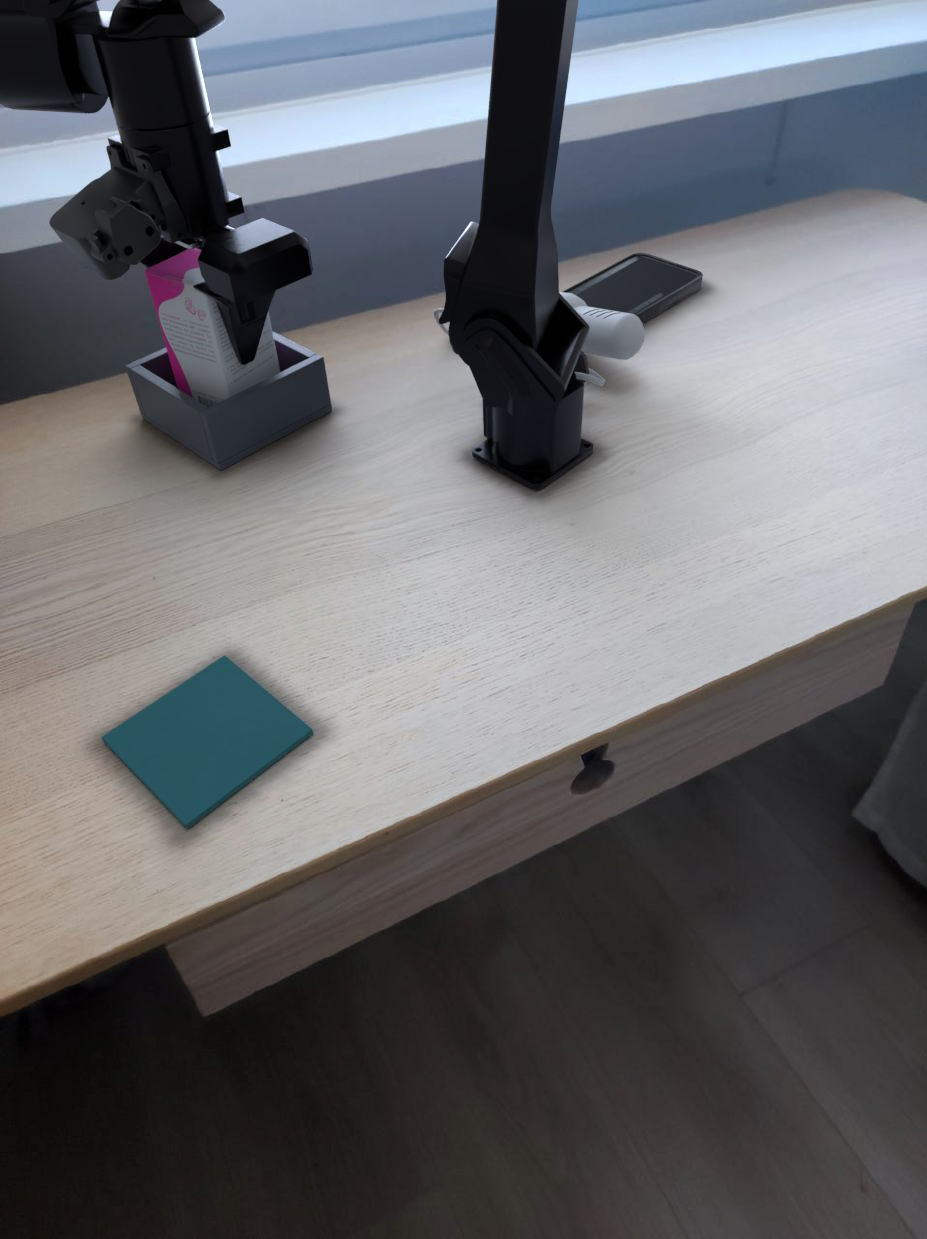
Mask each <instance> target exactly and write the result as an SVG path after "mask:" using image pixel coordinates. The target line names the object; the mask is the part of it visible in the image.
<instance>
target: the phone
mask: <svg viewBox="0 0 927 1239" xmlns="http://www.w3.org/2000/svg"><path fill="white" fill-rule="evenodd" d="M703 276H704V274H703V272H702V271H700V270H698V269H696V268H695V269H694V268H692V267H688V266H687V265H683V264H681V263H678V262H674V261H671V260H668V259H665V258H662V257H659V256H656V255H653V254H650V253H646V252H635V253H631V254H630V255H628V256H626V257H625V258H622V259H621V260H618V261H617V262H615V263H613V264H612V265H610V266H607V267H606V268H604V269H602V270H600V271H598V272H597V273H595V274H593V275H590V276H589V277H588V278H584V280H581V281H579V282H577V283H576V284H573V285H572V286H570V287H568V288H567V289H564V290H562V292H564V293H571V294H574V295H576V296H578V297H579V298H581V299H582V300H583V301H584V302H585V303H586V305H587V306H588V307H594V308H600V309H606V310H612V311H618V312H624V313H630V314H634V315H636V316H637V317H638V318H639V319H640V320H641V322H642V324H644V323H645V322H647V321H649V320H651V319H652V318H655V317H656V316H657V315H659V314H661V313H662V312H664V311H666V310H667V309H669V308H671V307H673V306H674V305H677V303H679V302H681V301H682V300H684V299H686V298H687V297H689V296H692V294H695V293H696V292H698V291H699V290H701V289H702V288H701V287H702V282H703Z"/></svg>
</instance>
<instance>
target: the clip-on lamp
mask: <svg viewBox="0 0 927 1239" xmlns="http://www.w3.org/2000/svg"><path fill="white" fill-rule="evenodd" d="M559 293H560V294H561V295H562V296H563V297H564V298H565V300H566V301H567V302H568V303H569V304H570V305H571V306H572V307H573V308H574V309H575V310H576V312H577V313H578V314H579V315H580V316H581V317H582V318H583V319H584V320H585V321H586V322H587V324H588V325H589V327H590V329H589V332H588V335H587V337H586V340H585V342H584V345H583V347H582V350H581V352H580V355H579V357H578V360H577V362H576V365H575V367H574V372H575V374H576V378H577V380H579V381H581V382H583V383H584V384H585V382H589V383H591V384H594V385H595V386H598V387H603V386H604V385H605V383H606V379H605V378H604V377H603V376H601V375H600V374H599V373H598V372H597V371H596V370H593V369H592V368H591V367H589V363H588V358H587V356H586V354H587V355H591V356H598V357H602V358H603V357H604V358H609V359H615V360H621V361H622V360H624V361H625V360H629V359H631V358H633V357H635V356H636V355H637V354H638V353H639V351H640V350H642V347H643V344H644V343H645V342H644V341H645V334H646V332H645V331H646V330H645V327H644V323H642V322H641V320H640V319H639V318H638V317H637V316H636V315H634V314H630V313H624V312H618V311H612V310H606V309H600V308H594V307H588V306H587V305H586V303H585V302H584V301H583V300H582V299H581V298H579V297H578V296H576V295H574V294H571V293H564V292H563V291H559ZM443 311H444V307H442V308H441V307H440V308H439V307H438V308H436V309H434V311H433V317H434V319H435V321H436V323H437V325H438V326H439V327H440V329H441V330H442V331H443V332H444V333H445V334H446V335H448V336H449V332H448V330H449V329H448V328H447V327H446V326H445V325H444V324H440V323H439V318H440V317H439V315H440V314H442V312H443Z"/></svg>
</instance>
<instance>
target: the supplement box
mask: <svg viewBox="0 0 927 1239" xmlns="http://www.w3.org/2000/svg"><path fill="white" fill-rule="evenodd" d="M200 252H201V250H200V249H197V248H195V249H187V250H185V251H183V252H181V253H179V254H177V255H175V256H173V257H171V258H169V259H167V260H165V261H163V262H161V263H159V264H156V265H154V266H152V267H150V268H148V269H147V268H146V269H144V275H145V277H146V281H147V285H148V289H149V292H150V296H151V298H152V303H153V306H154V309H155V312H156V317H157V320H158V322H159V327H160V331H161V334H162V338H163V341H164V345H165V348H166V349H167V352H168V356H169V359H170V363H171V366H172V370H173V373H174V377H175V380H176V384H177V387H178V389H179V390H181V391H182V392H184V393H186V394H187V395H189V396H190V397H192V398H194V399H195V400H197V401H199V402H200V403H202V404H203V405H205V406H207V407H208V408H209V407H211V406H213V405H215V404H217V403H219V402H221V401H223V400H225V399H227V398H229V397H231V396H233V395H235V394H237V393H239V392H241V391H244V390H246V389H248V388H250V387H252V386H254V385H256V384H258V383H260V382H262V381H264V380H266V379H268V378H270V377H272V376H274V375H276V374H278V373H280V367H279V362H278V357H277V353H276V347H275V342H274V337H273V332H274V331H273V328H272V322H271V317H270V312H269V310H268V314H267V317H266V320H265V324H264V327H263V331H262V335H261V338H260V342H259V345H258V349H257V352H256V356H255V359H254V360H253V361H252V362H250V363H248V364H246V365H242V364H240V363H239V361H238V359H237V357H236V354H235V352H234V350H233V347H232V345H231V342H230V339H229V336H228V334H227V331H226V328H225V325H224V322H223V320H222V317H221V314H220V311H219V309H218V306H217V303H216V302H215V301H214V300H213V299H211V298H209V297H208V296H206V295H204V294H202V293H201V292H199V291H197V290H195V289H194V288H193V286H194V285H196V284H199V283H201V282H203V281H205V280H204V279H203V277H202V276H201V272H200V268H199V264H198V260H197V259H198V257H199V255H200ZM272 331H273V332H272Z"/></svg>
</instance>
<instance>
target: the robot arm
mask: <svg viewBox="0 0 927 1239" xmlns="http://www.w3.org/2000/svg"><path fill="white" fill-rule="evenodd" d="M99 1H100V0H0V105H2V106H3V107H4V108H7V109H11V110H18V111H20V110H21V111H33V112H34V111H37V112H52V113H53V112H54V113H69V114H70V113H73V114H96V113H98V112H100V110H102V109H103V108H104V106H105V105H106V103H107V101H108V99H109V102H110V106H111V109H112V113H113V116H114V120H115V123H116V127H117V132H118V134H116V135H112V136H110V137H107V142H108V145H106V147H105V148H106V150H105V151H106V154H107V156H108V161H109V165H110V169H109V170H107V171H105V173H104V174H102V175H101V176H99V177H98V178H95V179H94V180H92V181H90V182H89V183H88V184H86V185H85V186H84V187H83V188H81V190H80V191H78V192H77V193H76V194H75V195H73V197H72V198H70V199H69V200H68V201H67V202H66V203H65V204H63V205H62V206H61V207H60V208H59V209H57V210H56V212H54V213H53V215H51V217H50V219H49V222H48V223H49V227H50V228H51V229H52V230H53V231H54V232H55V233H56V235H57V237H58V238H59V239H60V241H61V242H62V243H63V244H64V246H65V247H66V249H68V251H69V253H71V255H72V256H73V257H74V259H75V260H76V261H77V262H78V264H79V265H80V266H81V267H82V268H84V269H88V270H90V271H92V272H94V273H96V274H97V275H98V276H100V277H101V278H103V279H104V280H107V281H112V280H113V281H114V280H116V279H119V278H120V277H123V275H125V274H126V273H127V272H128V271H129V270H130V268H131V266H133V265H134V266H136V265H138V264H142V265H143V266H144V267H145V268H146V269H148V268H150V267H152V266H154V265H156V264H159V263H161V262H163V261H165V260H167V259H169V258H171V257H173V256H175V255H177V254H179V253H181V252H183V251H185V250H187V249H195V248H197V249H200V250H201V252H200V255H199V257H198V259H197V260H198V264H199V268H200V272H201V276H202V277H203V279H204V280H205V281H203V282H201V283H199V284H196V285H194V286H193V288H194V289H195V290H197V291H199V292H201V293H202V294H204V295H206V296H208V297H209V298H211V299H213V300H214V301H215V302H216V303H217V306H218V309H219V311H220V314H221V317H222V320H223V322H224V325H225V328H226V331H227V334H228V336H229V339H230V342H231V345H232V347H233V350H234V352H235V354H236V357H237V359H238V361H239V363H240V364H242V365H246V364H248V363H250V362H252V361H253V360H254V359H255V356H256V352H257V349H258V345H259V342H260V338H261V335H262V331H263V327H264V324H265V320H266V317H267V314H268V311H269V310H270V308H271V304H272V302H273V300H274V299H273V298H274V296H275V293H276V291H278V290H280V289H282V288H285V287H287V286H289V285H292V284H294V283H296V282H298V281H300V280H303V279H306V278H308V277H310V276H311V275H313V271H314V268H313V260H312V256H311V255H312V254H311V247H310V241H309V240H307V238H305V237H304V236H303V235H301V234H299V233H298V232H296V231H295V230H293V229H290V228H289V227H286V226H283V225H281V224H278V223H275V222H273V221H271V220H268V219H266V218H263V217H261V218H258V219H257V220H256V219H255V220H254V221H251V222H249V223H246V224H243V225H241V226H238V227H236V228H233V227H231V226H229V224H230V219H232V218H234V217H237V216H239V215H242V214H245V206H244V202H243V197H242V196H240V195H238V194H235V193H232V192H230V191H228V188H227V182H226V179H225V174H224V170H223V169H224V168H223V165H222V161H221V156H220V151H221V150H225V149H229V148H231V147H232V143H231V139H230V133H229V129H228V128H225V127H222V126H220V125H217V124H214V123H213V119H212V113H211V109H210V105H209V100H208V94H207V90H206V86H205V82H204V81H205V80H204V76H203V72H202V67H201V61H200V58H199V53H198V48H197V43H196V38H199V37H201V36H202V35H204V34H207V33H208V32H210V31H213V30H214V29H216V28H217V27H219V26H221V25H223V24H224V23H225V22H226V15H225V12H224V11H223V9H221V8H220V7H219V6H218V5H216V4H215V2H213V1H212V0H119V1H118V2H117V3H116V4H115V6H114V8H113V9H112V11H105V10H104V11H102V10H101V11H100V9H99V6H98V5H99V4H98V2H99ZM578 8H579V0H496V8H495V21H494V33H493V47H492V60H491V70H490V71H491V72H490V85H489V98H488V110H487V111H488V112H487V113H488V114H487V122H486V134H485V136H486V137H485V148H484V160H483V161H484V162H483V174H482V187H481V199H480V200H481V201H480V214H479V221H478V223H477V222H474V221H470V222H469V224H468V225H467V226H466V228H465V229H464V231H463V232H462V234H460V236H459V238H458V239H457V241H456V242H455V243H454V244H453V247H451V249H450V251H449V253H447V255H446V256H445V258H444V259H443V282H444V291H445V301H444V307H443V308H444V311H443V312H442V313H440V317H439V323H440V324H443V325H444V324H447V323H448V329H447V330H448V332H449V335H448V340H449V344H450V347H451V349H452V350H451V351H452V352H453V353H454V354H455V355H458V357H459V358H460V359H461V360H462V361H463V363H464V364H465V365H466V366H468V367H469V369H470V372H471V374H472V377H473V379H474V381H475V385H476V387H477V389H478V391H479V394H480V397H481V399H482V426H483V430H482V431H483V437H485V438H486V439H485V440H483V441H482V442H480V443H479V444H477V445H475V446H474V447H473V448H472V449H471V456H472V458H473V459H476V460H478V461H479V462H481V463H483V464H485V465H487V466H489V467H490V468H493V469H495V470H496V471H498V472H499V473H501V474H504V475H506V476H508V477H510V478H512V479H514V480H516V481H517V482H519V483H521V484H523V485H524V486H527V487H529V488H531V489H533V490H541V489H543V488H545V486H547V485H548V484H550V483H552V482H553V481H554V480H556V479H557V478H558V477H560V476H561V475H563V474H564V473H566V472H567V471H568V470H570V469H571V468H573V467H574V466H576V465H578V464H579V463H580V462H582V460H584V459H586V458H587V457H588V456H590V455H591V454H592V453H593V452H594V447H595V445H594V443H592V442H591V441H589V440H587V439H585V438H582V429H583V428H582V427H583V426H582V425H583V412H584V398H585V382H584V383H583V382H581V381H579V380H577V378H576V374H575V372H574V367H575V365H576V362H577V360H578V357H579V355H580V352H581V350H582V347H583V345H584V342H585V340H586V337H587V335H588V332H589V329H590V327H589V325H588V324H587V322H586V321H585V320H584V319H583V318H582V317H581V316H580V315H579V314H578V313H577V312H576V310H575V309H574V308H573V307H572V306H571V305H570V304H569V303H568V302H567V301H566V300H565V298H564V297H563V296H562V295H561V294H560V293H559V292H560V287H559V286H560V283H559V279H560V278H559V251H558V245H557V241H556V235H555V229H554V225H553V220H552V204H553V203H552V202H553V194H554V187H555V181H556V172H557V166H558V157H559V149H560V141H561V134H562V128H563V120H564V112H565V105H566V97H567V89H568V83H569V74H570V67H571V59H572V53H573V44H574V38H575V31H576V23H577V22H576V21H577V15H578Z"/></svg>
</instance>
